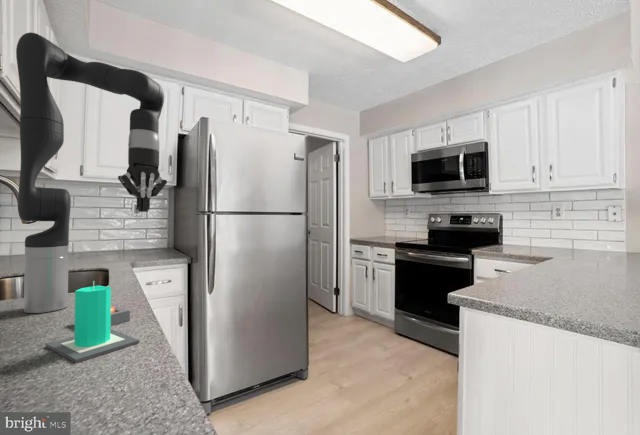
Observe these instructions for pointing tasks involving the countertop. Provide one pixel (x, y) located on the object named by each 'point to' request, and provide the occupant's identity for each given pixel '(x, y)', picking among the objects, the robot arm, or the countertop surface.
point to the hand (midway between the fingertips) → (143, 211)
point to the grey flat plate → (91, 347)
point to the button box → (120, 316)
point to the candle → (92, 315)
